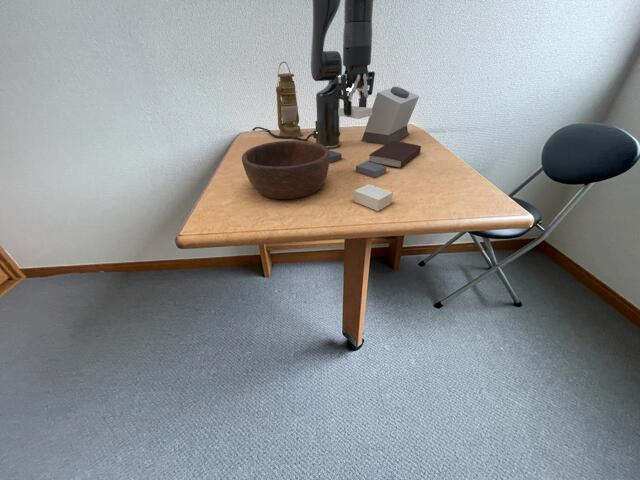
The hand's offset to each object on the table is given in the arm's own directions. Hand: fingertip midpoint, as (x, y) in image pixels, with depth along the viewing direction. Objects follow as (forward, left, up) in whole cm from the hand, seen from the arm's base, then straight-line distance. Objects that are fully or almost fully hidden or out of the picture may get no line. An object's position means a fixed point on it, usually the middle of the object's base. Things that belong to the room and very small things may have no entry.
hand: (355, 113), depth 82 cm
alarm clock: (-15, +42, -18) cm, 48 cm away
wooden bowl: (-6, -22, -18) cm, 29 cm away
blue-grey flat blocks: (-5, +4, -18) cm, 19 cm away
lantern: (-53, +16, -18) cm, 58 cm away
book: (+3, +21, -18) cm, 28 cm away
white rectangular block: (+19, -13, -18) cm, 29 cm away
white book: (0, 0, -1) cm, 1 cm away
